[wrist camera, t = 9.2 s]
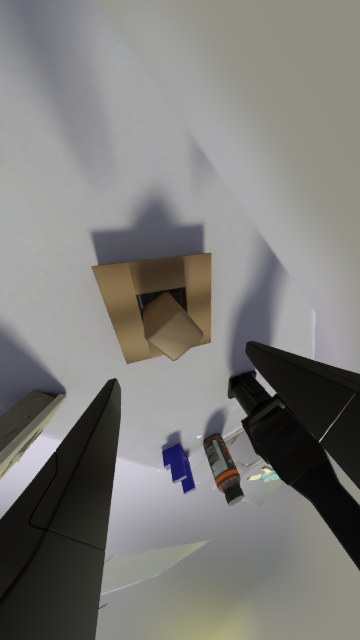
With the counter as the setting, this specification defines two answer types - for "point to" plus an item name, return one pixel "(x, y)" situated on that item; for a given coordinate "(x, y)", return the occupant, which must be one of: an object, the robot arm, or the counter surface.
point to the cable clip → (179, 467)
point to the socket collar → (152, 276)
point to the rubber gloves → (266, 475)
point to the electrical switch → (24, 426)
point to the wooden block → (169, 326)
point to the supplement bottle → (223, 469)
